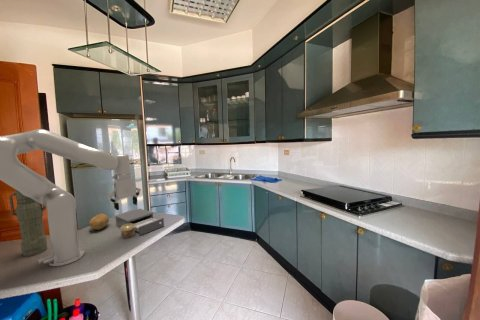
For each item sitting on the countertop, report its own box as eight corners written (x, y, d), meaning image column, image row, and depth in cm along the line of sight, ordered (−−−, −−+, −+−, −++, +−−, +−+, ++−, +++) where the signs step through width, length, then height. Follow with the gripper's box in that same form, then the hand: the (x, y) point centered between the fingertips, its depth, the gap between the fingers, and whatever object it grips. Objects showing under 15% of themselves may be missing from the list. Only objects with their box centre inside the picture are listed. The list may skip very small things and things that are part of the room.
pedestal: (126, 238, 112) (125, 231, 112) (121, 236, 115) (121, 229, 115) (135, 234, 116) (134, 228, 116) (130, 232, 119) (130, 226, 119)
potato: (85, 234, 119) (84, 221, 118) (94, 225, 132) (93, 213, 131) (105, 231, 122) (103, 218, 121) (111, 223, 135) (110, 211, 134)
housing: (128, 231, 121) (127, 221, 121) (116, 225, 131) (115, 215, 130) (153, 221, 134) (152, 212, 134) (140, 217, 144) (140, 208, 143)
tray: (140, 235, 114) (139, 227, 114) (126, 229, 124) (125, 221, 123) (164, 225, 126) (164, 218, 126) (149, 220, 136) (149, 213, 136)
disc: (124, 232, 110) (124, 229, 110) (118, 229, 114) (118, 226, 114) (137, 227, 116) (136, 224, 116) (131, 225, 120) (130, 222, 120)
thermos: (51, 250, 102) (42, 181, 99) (17, 260, 94) (6, 185, 91) (51, 243, 109) (43, 179, 105) (19, 252, 101) (8, 183, 97)
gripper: (108, 180, 103) (112, 213, 105) (142, 174, 117) (144, 203, 119) (102, 179, 108) (106, 210, 109) (135, 173, 121) (138, 201, 123)
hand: (126, 206), depth 114 cm, fingers open, 9 cm apart
